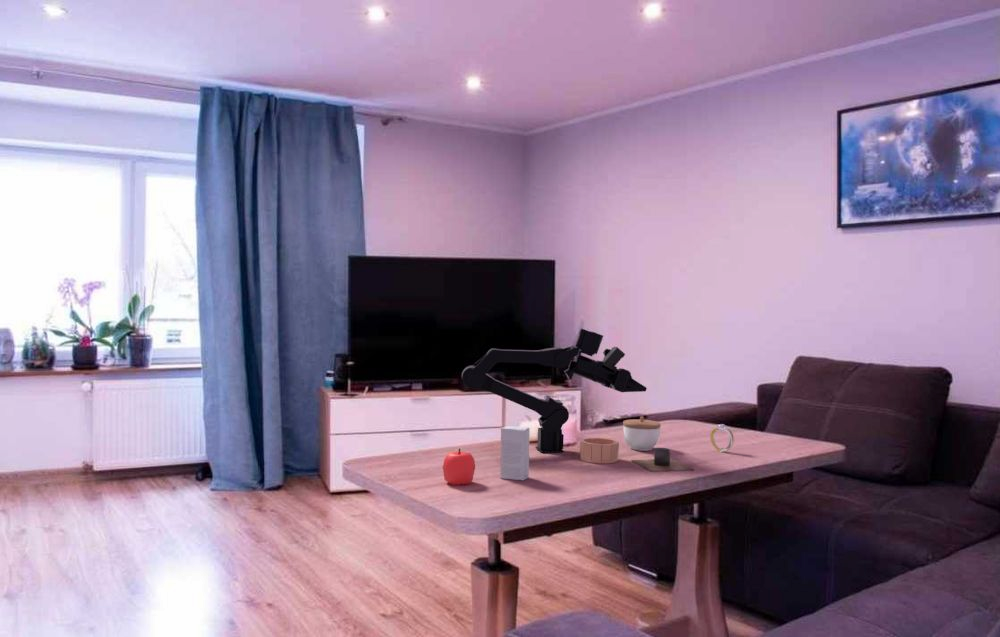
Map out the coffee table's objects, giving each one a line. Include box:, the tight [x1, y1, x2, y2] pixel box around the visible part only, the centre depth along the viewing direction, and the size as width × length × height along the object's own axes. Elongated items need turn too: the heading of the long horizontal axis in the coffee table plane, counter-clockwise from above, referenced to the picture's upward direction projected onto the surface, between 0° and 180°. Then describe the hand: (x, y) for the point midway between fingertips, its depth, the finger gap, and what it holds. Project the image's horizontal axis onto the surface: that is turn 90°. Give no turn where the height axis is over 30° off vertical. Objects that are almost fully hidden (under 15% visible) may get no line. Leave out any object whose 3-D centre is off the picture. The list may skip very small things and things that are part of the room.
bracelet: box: [710, 423, 735, 453], centre depth 214 cm, size 7×3×8 cm, turn 35°
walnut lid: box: [631, 447, 695, 473], centre depth 194 cm, size 12×12×5 cm
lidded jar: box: [622, 416, 661, 452], centre depth 216 cm, size 11×11×9 cm
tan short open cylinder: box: [579, 437, 620, 465], centre depth 199 cm, size 10×10×5 cm
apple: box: [442, 447, 476, 486], centre depth 170 cm, size 8×8×8 cm
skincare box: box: [499, 425, 530, 481], centre depth 176 cm, size 6×4×12 cm
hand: (641, 388), depth 211 cm, fingers open, 9 cm apart
